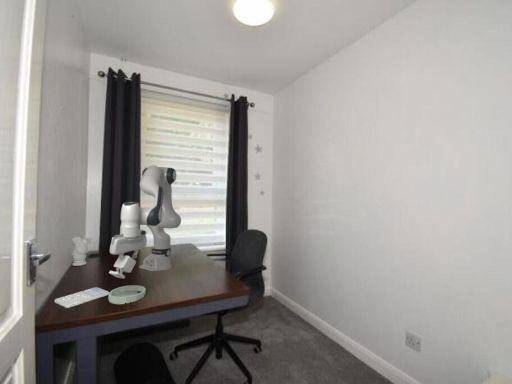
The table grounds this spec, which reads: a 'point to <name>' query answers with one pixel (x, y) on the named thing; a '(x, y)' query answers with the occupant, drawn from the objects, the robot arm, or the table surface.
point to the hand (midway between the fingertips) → (128, 259)
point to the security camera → (123, 266)
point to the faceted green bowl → (126, 294)
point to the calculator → (81, 297)
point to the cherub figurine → (80, 250)
